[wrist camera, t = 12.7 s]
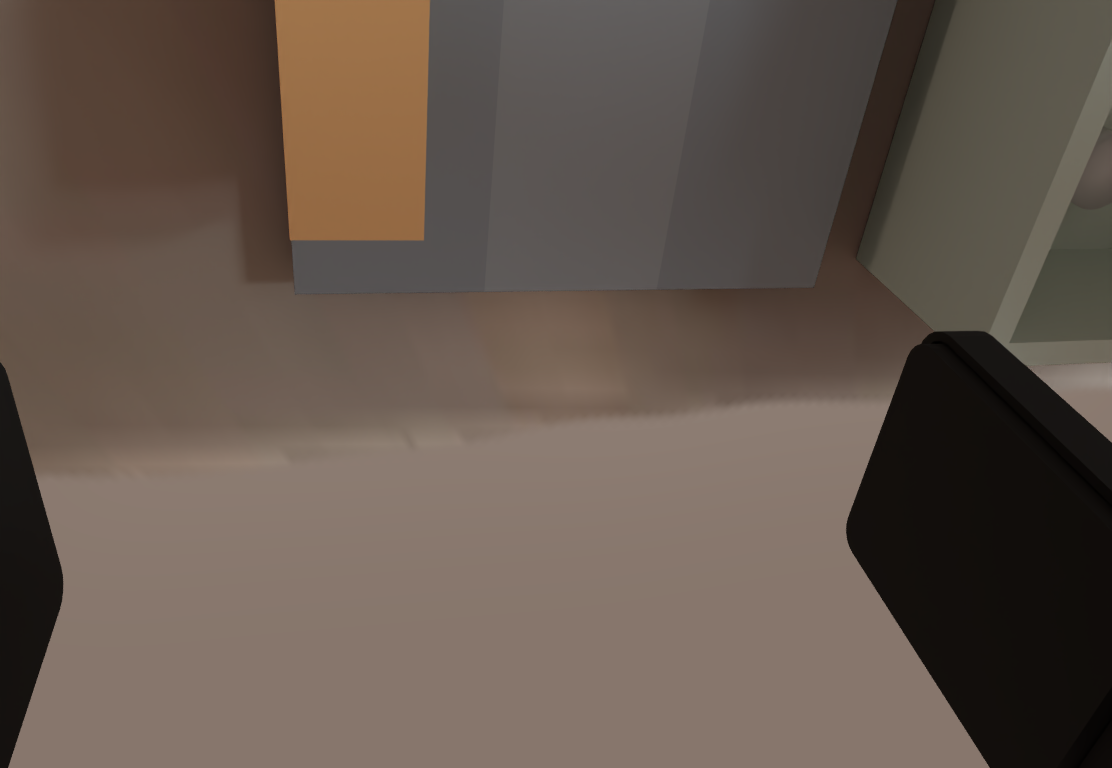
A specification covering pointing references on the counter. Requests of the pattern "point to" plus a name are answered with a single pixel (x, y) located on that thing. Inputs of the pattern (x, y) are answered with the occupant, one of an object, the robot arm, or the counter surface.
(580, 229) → the snap lid
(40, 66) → the counter surface
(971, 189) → the parts tub
